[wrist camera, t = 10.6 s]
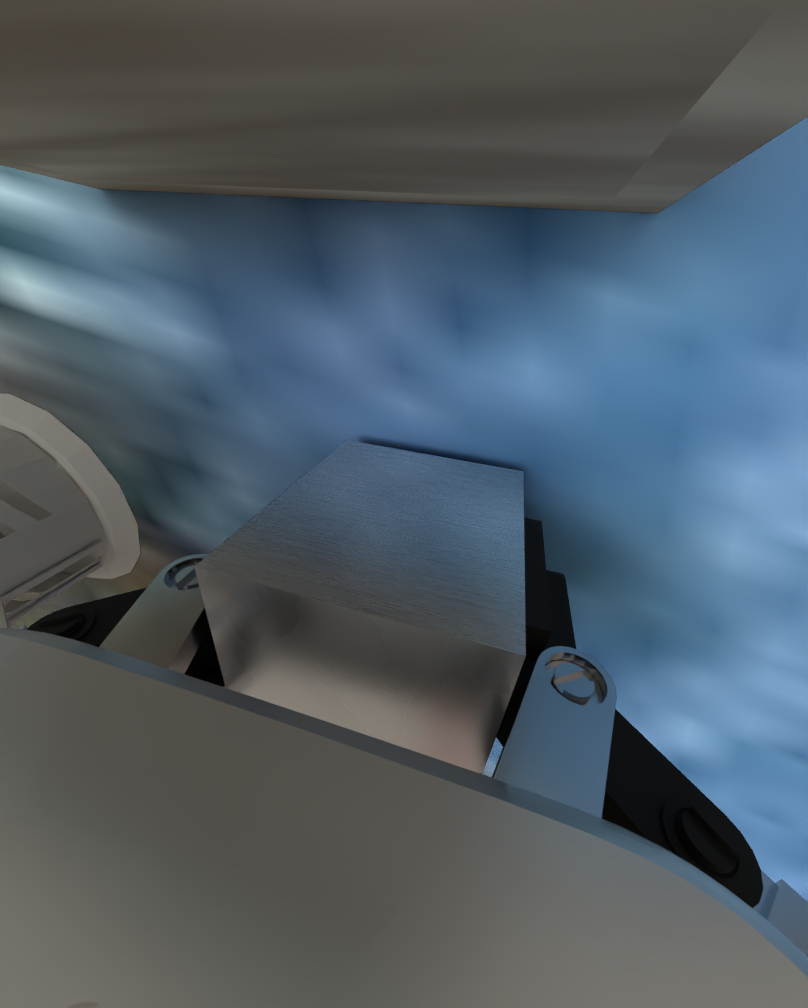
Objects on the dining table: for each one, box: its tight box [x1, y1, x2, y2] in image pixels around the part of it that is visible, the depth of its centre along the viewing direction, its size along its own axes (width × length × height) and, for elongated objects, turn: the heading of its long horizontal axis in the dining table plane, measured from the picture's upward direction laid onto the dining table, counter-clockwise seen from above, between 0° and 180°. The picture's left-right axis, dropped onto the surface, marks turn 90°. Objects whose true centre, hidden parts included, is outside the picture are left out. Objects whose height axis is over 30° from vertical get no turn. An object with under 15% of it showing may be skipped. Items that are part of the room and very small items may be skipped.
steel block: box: [194, 440, 526, 774], centre depth 9 cm, size 5×5×6 cm
